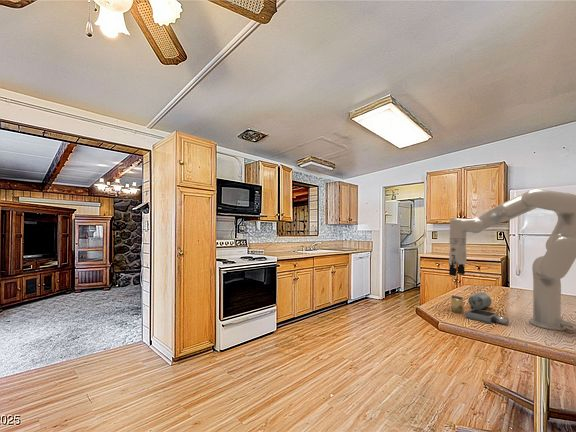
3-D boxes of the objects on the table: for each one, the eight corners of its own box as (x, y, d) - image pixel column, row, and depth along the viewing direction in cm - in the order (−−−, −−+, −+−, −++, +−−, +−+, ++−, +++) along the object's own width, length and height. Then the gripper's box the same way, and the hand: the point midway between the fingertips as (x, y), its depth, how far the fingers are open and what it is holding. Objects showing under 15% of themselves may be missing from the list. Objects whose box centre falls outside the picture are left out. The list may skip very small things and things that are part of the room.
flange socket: (511, 323, 136) (511, 316, 136) (504, 327, 130) (504, 320, 130) (474, 314, 148) (474, 307, 148) (465, 317, 142) (465, 311, 142)
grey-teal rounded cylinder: (484, 306, 151) (477, 287, 157) (466, 310, 158) (461, 292, 164) (499, 310, 157) (492, 291, 162) (482, 313, 164) (476, 296, 169)
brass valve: (464, 312, 151) (464, 296, 152) (460, 314, 148) (460, 298, 148) (453, 309, 155) (454, 294, 156) (449, 311, 152) (449, 296, 152)
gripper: (458, 242, 144) (457, 277, 144) (472, 242, 155) (471, 274, 155) (442, 241, 150) (441, 275, 150) (457, 241, 161) (456, 272, 161)
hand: (456, 274), depth 152 cm, fingers open, 9 cm apart
